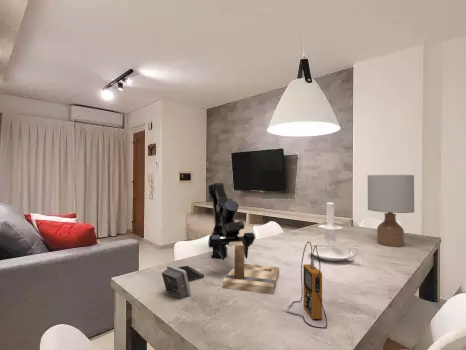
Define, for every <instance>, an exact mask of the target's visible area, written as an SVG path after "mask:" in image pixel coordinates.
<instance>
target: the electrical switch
mask: <svg viewBox="0 0 466 350" xmlns="http://www.w3.org/2000/svg"><path fill="white" fill-rule="evenodd" d="M161 276H162V280H163V284H164V287H165V291H166V293H168V294H169V295H171V296H174V297H176V298H178V299H180V300H182V299H184V298H185V297H186V296H188V297H190V296H191V295H192V291H191V286H190V282H188V278H187V273H186V271H185V270H183V269H180V268H178V267H176V266H173V265H171V264H169V265H167V266H166V269H165V270H164V271H162V272H161Z"/></svg>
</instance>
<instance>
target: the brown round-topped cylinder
mask: <svg viewBox="0 0 466 350" xmlns="http://www.w3.org/2000/svg"><path fill="white" fill-rule="evenodd" d="M244 264H245V254H244V246H243V244H236V245H234V266H235V271H234V277H235V278H237V279H242V278H244Z"/></svg>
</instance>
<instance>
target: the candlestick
mask: <svg viewBox="0 0 466 350" xmlns="http://www.w3.org/2000/svg"><path fill="white" fill-rule="evenodd" d="M325 211H326V224H320V225H317V226H318V228H321V229H323V230H325V231H326V232H325V234H324V237H323V238H324V239H323V240H324V242H325V244H327V246H317V251H316V247H315V246H312V256H315V257H317V258H318V255H319V259H320V260H325V261H330V262H341V261H345V260H347V261H351V262H352V261H354V260H355V258H356V257H357V256H358V249H359V247H357V246H348V248H347V249H345V248H341V247H334V245H335V244H336V242H337V236H336V234H335V231H337V230H341V229H343V228H344V227H343V226H341V225H337V224H335V223H334V222H335V221H334V219H335V203H334V202H330V201H329V202H326V209H325ZM334 224H335V225H334ZM314 247H315V249H314ZM313 249H314V252H313ZM350 249H353V250H354V252H355V253H353V252H352V251H350ZM308 252H309V253H310V254H311V247H310V248H309V249H308ZM317 252H318V255H317Z"/></svg>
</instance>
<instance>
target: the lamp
mask: <svg viewBox="0 0 466 350" xmlns="http://www.w3.org/2000/svg"><path fill="white" fill-rule="evenodd" d="M367 210H368V211H372V212H378V213H383V214H384V219H383V221H382V222H381V223H379V224H378V225H377V228H376V234H377V235H376V243H377V244H378V245H381V246H386V247H391V248H392V247H393V248H394V247H395V248H399V247H404V246H405V229H404V228H403V227H402V225H401V224H399V222H397V218H396V215H397V214H413V213H415V174H373V175H372V174H369V175H367Z"/></svg>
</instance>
